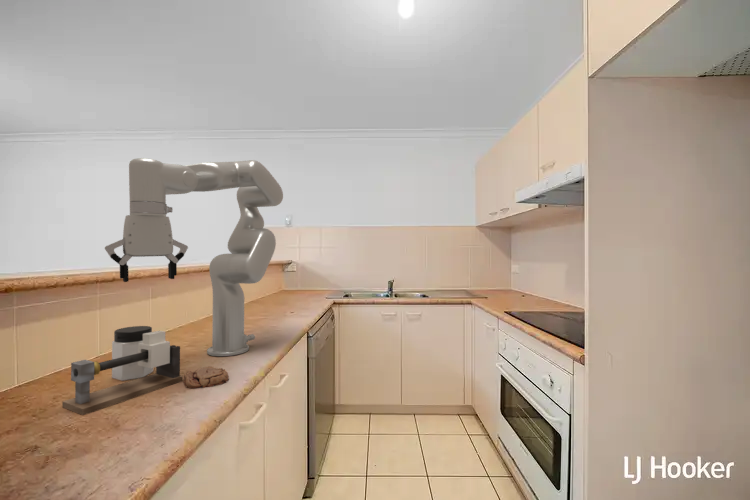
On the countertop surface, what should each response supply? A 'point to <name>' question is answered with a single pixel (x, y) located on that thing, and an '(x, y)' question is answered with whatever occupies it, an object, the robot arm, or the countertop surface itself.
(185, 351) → the countertop surface
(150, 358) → the sleeve
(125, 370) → the jar
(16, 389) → the countertop surface
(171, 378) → the comb rig
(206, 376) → the cookie
